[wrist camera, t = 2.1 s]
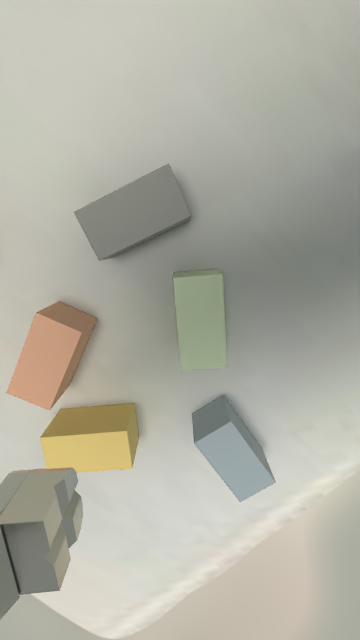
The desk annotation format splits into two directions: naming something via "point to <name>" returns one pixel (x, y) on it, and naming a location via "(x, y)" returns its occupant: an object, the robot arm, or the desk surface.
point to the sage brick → (200, 319)
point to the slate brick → (231, 449)
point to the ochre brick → (92, 438)
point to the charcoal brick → (134, 213)
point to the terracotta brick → (51, 354)
